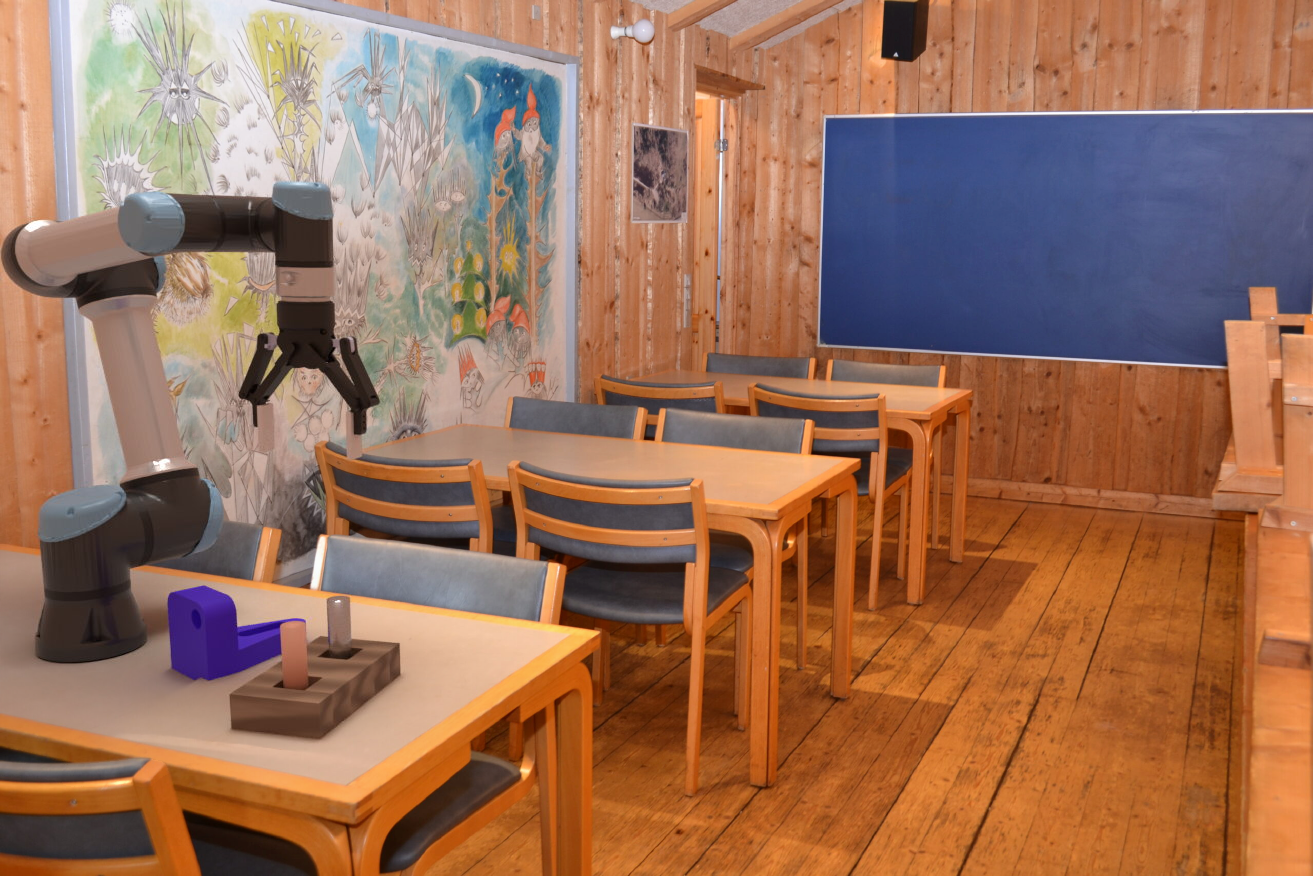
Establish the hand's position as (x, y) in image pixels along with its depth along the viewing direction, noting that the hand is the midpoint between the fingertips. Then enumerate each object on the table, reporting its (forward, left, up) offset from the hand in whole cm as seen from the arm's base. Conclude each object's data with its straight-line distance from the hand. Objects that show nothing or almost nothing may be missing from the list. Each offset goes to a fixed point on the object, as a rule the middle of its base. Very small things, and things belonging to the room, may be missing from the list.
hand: (310, 454), depth 160 cm
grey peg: (+7, -6, -30) cm, 32 cm away
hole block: (+7, -12, -31) cm, 34 cm away
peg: (+7, -18, -30) cm, 35 cm away
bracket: (-12, +1, -32) cm, 34 cm away
